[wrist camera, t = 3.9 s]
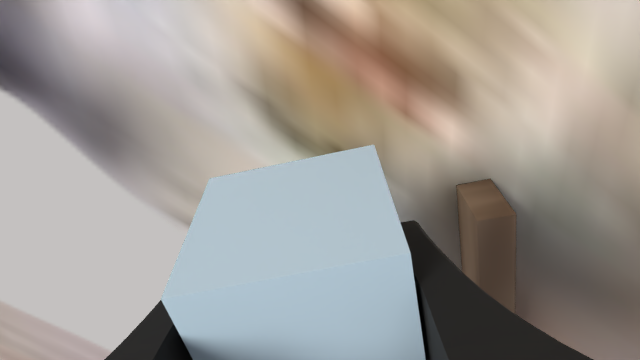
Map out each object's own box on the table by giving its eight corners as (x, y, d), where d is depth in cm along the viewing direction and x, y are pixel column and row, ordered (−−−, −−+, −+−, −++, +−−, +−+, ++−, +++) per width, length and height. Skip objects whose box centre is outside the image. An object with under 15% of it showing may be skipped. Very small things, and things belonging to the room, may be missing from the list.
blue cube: (374, 144, 13) (410, 253, 8) (395, 273, 15) (432, 410, 11) (209, 178, 13) (161, 299, 9) (256, 298, 15) (236, 441, 11)
